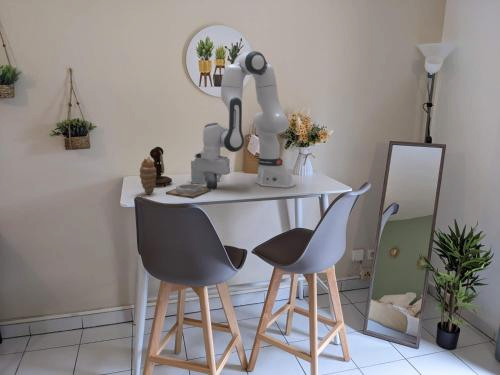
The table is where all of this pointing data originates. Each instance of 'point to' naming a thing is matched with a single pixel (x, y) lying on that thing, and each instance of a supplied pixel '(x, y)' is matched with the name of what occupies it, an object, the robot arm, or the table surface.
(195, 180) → the supplement box
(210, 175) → the piston
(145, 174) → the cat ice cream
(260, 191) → the table surface
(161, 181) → the dark brown tall piece
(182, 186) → the ring board
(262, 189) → the table surface
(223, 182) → the table surface
